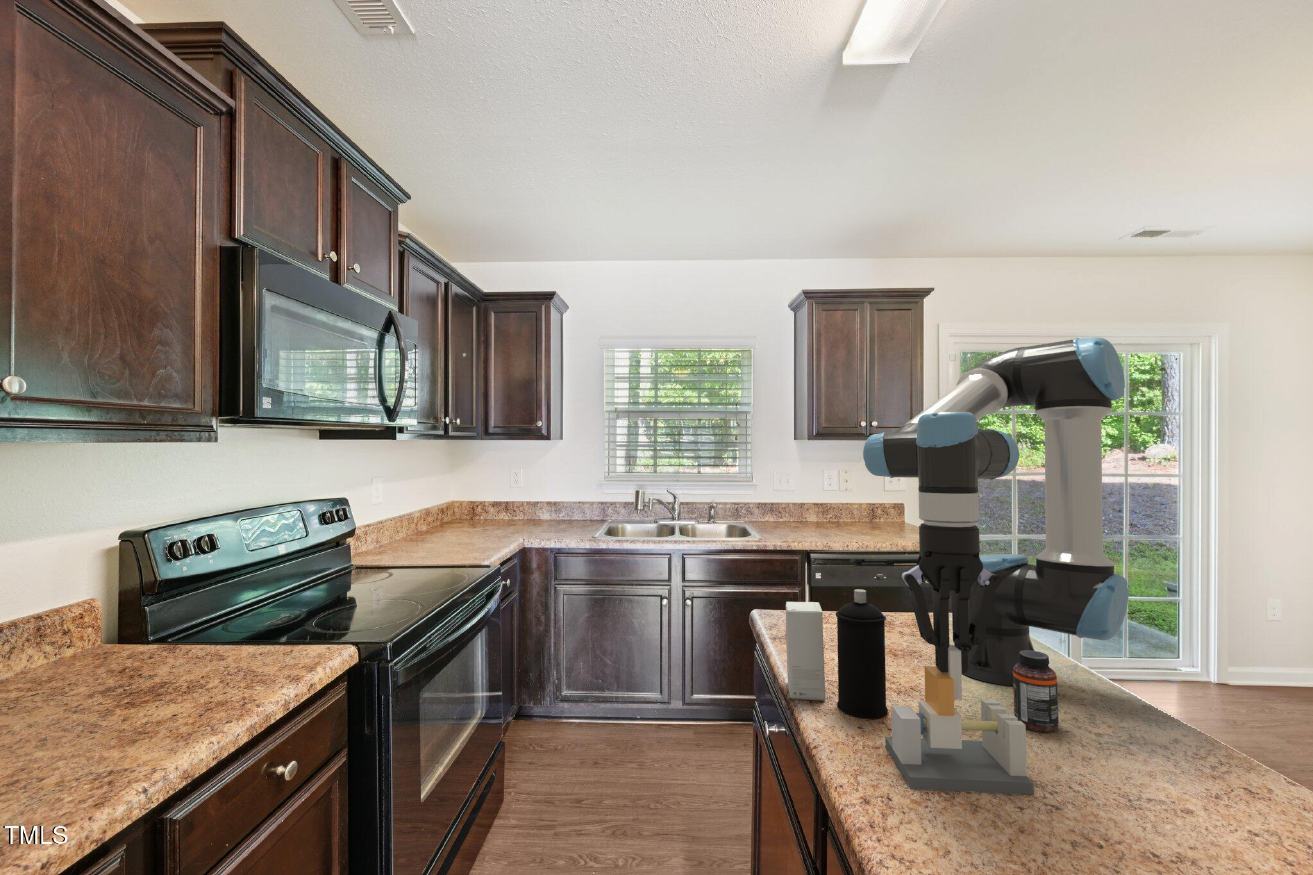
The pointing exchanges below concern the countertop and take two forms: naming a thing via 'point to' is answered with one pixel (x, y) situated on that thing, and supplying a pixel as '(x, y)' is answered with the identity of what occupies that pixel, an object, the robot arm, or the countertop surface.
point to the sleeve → (940, 711)
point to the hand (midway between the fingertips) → (952, 695)
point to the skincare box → (805, 650)
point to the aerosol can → (861, 659)
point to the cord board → (963, 753)
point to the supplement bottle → (1035, 692)
